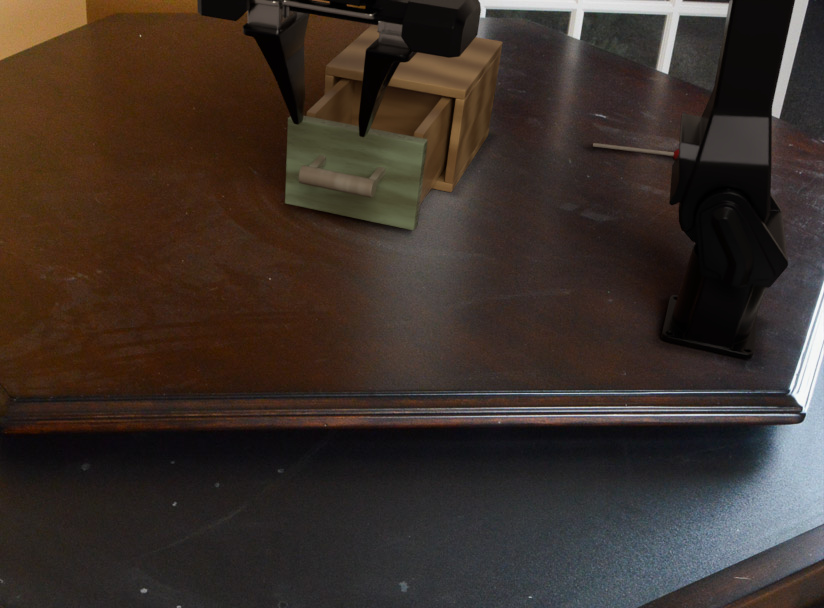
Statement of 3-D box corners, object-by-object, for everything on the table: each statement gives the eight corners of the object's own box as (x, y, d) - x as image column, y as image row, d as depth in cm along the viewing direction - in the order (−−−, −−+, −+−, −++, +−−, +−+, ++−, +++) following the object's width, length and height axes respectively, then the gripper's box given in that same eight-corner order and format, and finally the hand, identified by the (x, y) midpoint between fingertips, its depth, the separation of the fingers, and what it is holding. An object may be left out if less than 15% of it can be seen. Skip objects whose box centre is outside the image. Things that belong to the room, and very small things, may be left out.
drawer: (398, 253, 83) (408, 164, 79) (265, 224, 86) (267, 136, 81) (454, 169, 96) (465, 89, 92) (337, 146, 99) (342, 67, 94)
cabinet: (451, 192, 95) (465, 90, 89) (320, 166, 98) (325, 65, 92) (488, 136, 105) (503, 41, 99) (368, 113, 108) (376, 20, 102)
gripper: (514, -117, 71) (479, 114, 81) (257, -150, 75) (255, 73, 85) (476, -84, 63) (442, 168, 73) (190, -124, 67) (196, 120, 77)
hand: (330, 128), depth 77 cm, fingers open, 5 cm apart
